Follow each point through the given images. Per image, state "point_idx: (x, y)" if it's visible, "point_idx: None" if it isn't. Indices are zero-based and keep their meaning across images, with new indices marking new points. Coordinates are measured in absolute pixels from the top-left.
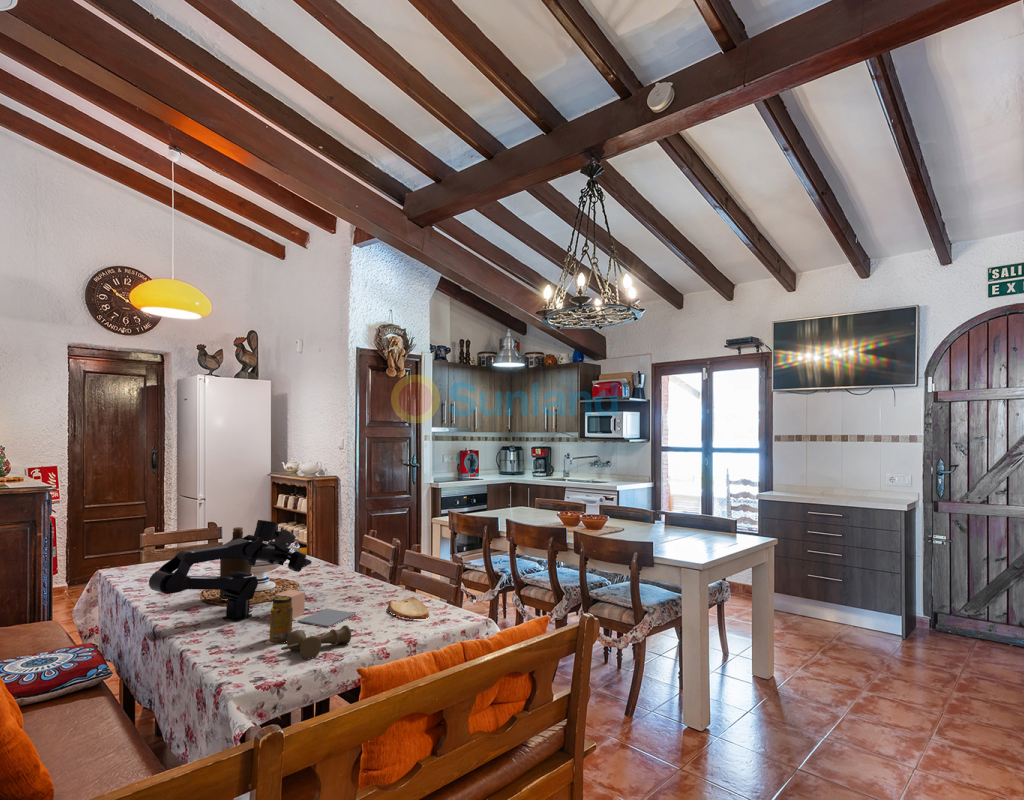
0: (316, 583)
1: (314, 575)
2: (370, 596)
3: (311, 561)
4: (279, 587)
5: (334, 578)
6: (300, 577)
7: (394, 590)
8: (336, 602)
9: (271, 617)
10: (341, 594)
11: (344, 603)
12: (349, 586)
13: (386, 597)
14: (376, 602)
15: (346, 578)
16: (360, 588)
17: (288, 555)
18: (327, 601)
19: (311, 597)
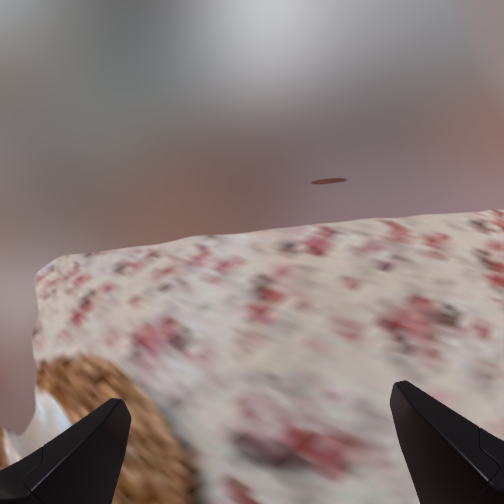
0: (157, 332)
1: (104, 299)
2: (418, 279)
3: (408, 384)
4: None
5: (166, 280)
6: (83, 328)
7: (390, 225)
8: (433, 384)
9: None
10: (341, 334)
11: (459, 365)
12: (270, 283)
13: (446, 255)
14: (484, 287)
15: (194, 262)
16: (315, 271)
17: (98, 475)
18: None
19: (296, 434)
